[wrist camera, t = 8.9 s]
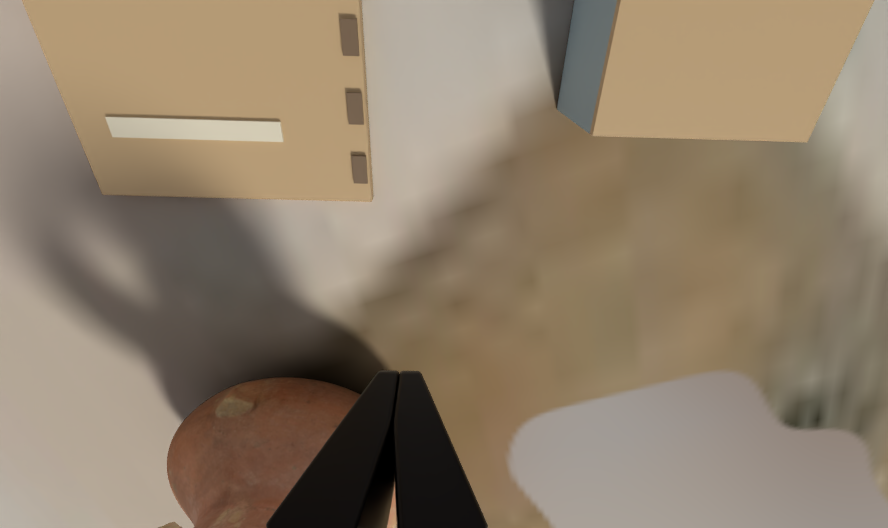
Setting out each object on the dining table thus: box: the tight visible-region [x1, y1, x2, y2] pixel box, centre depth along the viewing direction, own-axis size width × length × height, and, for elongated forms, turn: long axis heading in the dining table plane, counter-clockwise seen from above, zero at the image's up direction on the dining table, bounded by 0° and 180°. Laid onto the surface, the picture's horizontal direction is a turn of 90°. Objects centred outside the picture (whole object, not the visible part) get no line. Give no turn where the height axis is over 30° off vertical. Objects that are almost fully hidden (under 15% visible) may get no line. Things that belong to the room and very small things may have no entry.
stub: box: [557, 0, 874, 142], centre depth 14 cm, size 7×5×5 cm
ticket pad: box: [22, 0, 373, 202], centre depth 15 cm, size 12×13×1 cm
